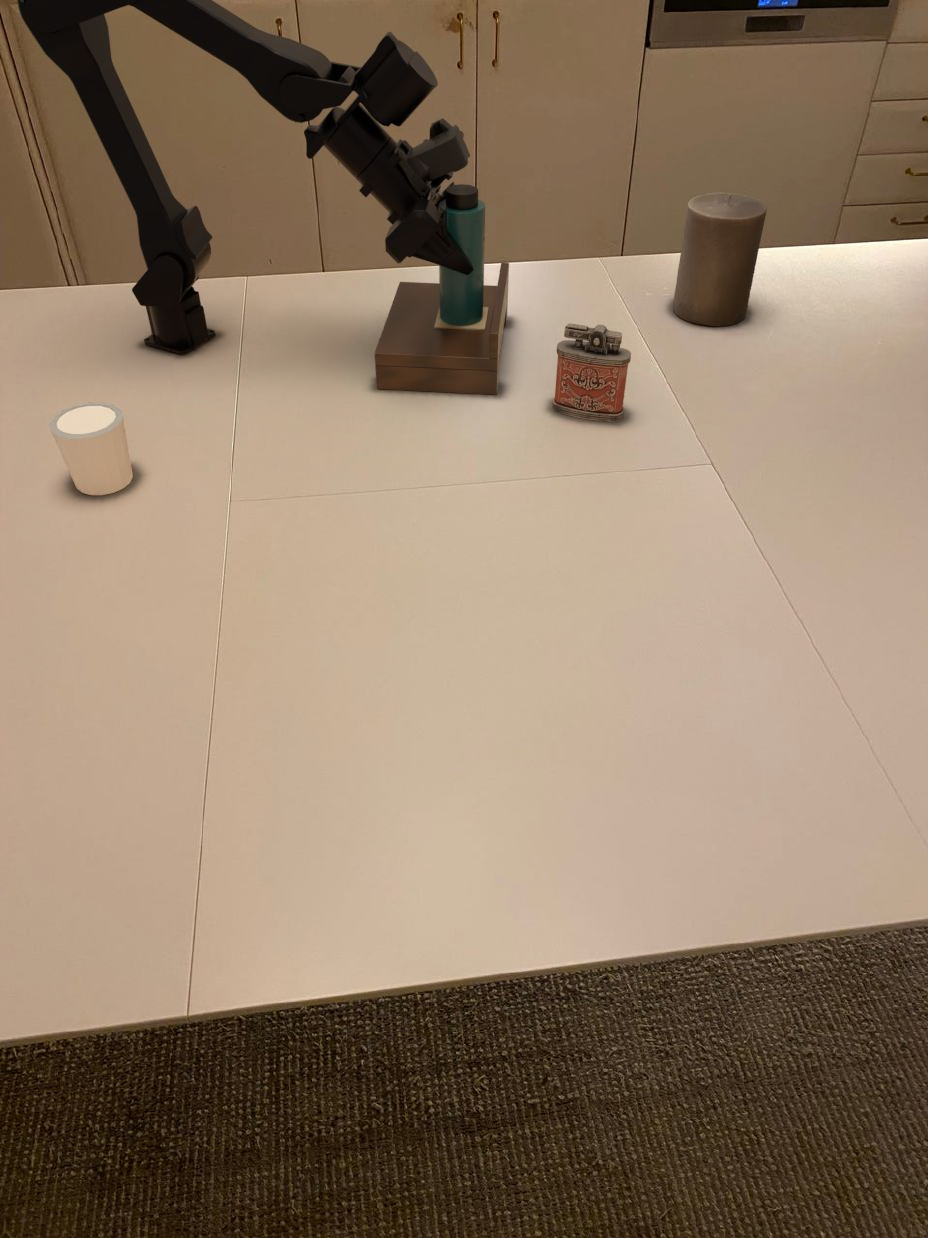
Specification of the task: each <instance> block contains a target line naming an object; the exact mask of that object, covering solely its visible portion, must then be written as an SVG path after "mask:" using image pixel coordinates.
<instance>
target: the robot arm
mask: <svg viewBox="0 0 928 1238" xmlns="http://www.w3.org/2000/svg"><path fill="white" fill-rule="evenodd" d="M128 6H130V7H133V8H134V9H136V10H138V11H139V12H141V13H143V14H144V15H146V16H148V17H149V18H151V19H152V20H154V21H156V22H157V23H159V24H160V25H163V26H164V27H165V28H167V29H168V30H170V31H172V32H174V33H175V34H177V35H179V36H180V37H182V38H183V39H185V40H186V41H188V42H190V43H191V44H193V45H195V46H196V47H198V48H199V49H201V50H203V51H204V52H206V53H207V54H209V55H211V56H213V57H214V58H215V59H217V60H219V61H221V62H222V63H224V64H225V65H227V66H228V67H231V68H232V69H234V70H235V71H236V72H238V73H239V74H240V75H241V76H242V77H243V78H244V79H246V80H247V82H248V83H249V84H250V85H251V87H252V88H253V89H254V91H255V92H256V93H257V94H258V95H259V96H260V97H261V98H262V99H263V100H264V101H265V102H267V103H268V104H269V105H270V106H271V107H272V108H274V109H275V110H276V111H277V112H278V113H279V114H280V115H282V116H283V117H285V119H287V120H289V121H291V122H294V123H299V124H304V123H307V122H310V121H313V120H315V119H316V118H317V117H319V116H320V115H321V113H322V112H323V110H327V109H330V111H329V112H328V113H327V114H326V115H325V117H323V119H322V120H321V121H320V122H319V124H316V125H315V124H314V125H313V124H308V125H307V126H306V127H305V129H304V130H303V134H304V137H305V147H306V149H305V150H306V152H305V155H306V158H307V159H309V160H312V159H313V158H314V157H315V156H316V155H317V153H319V152H320V150H321V149H322V148H323V147H324V148H325V149H326V150H327V151H328V152H329V153H330V154H331V155H332V156H333V157H334V158H335V159H336V160H337V161H338V162H339V163H340V165H342V166H343V167H344V168H345V170H347V171H348V173H350V174H351V176H353V178H355V179H356V180H357V181H358V183H360V185H361V186H360V188H359V190H358V192H359V193H361V194H362V196H364V197H365V198H368V197H369V195H371V196H372V197H373V198H374V199H375V200H376V202H378V203H379V204H380V205H381V206H382V208H384V210H386V211H387V212H388V215H387V217H386V220H387V221H388V222H389V223H390V224H391V226H389V229H388V231H387V233H386V235H385V239H384V244H385V252H386V253H387V254H388V255H389V256H390V257H391V258H392V259H393V261H395V263H397V264H398V265H400V264H402V263H403V261H404V260H406V258H409V259H410V258H412V257H413V258H416V259H419V260H423V261H425V262H428V263H432V264H435V265H437V266H439V265H441V266H443V267H446V268H449V269H451V270H454V271H457V272H459V273H462V274H465V275H469V274H470V273H471V272H472V271H473V270H474V267H473V265H472V264H471V262H470V261H469V259H468V258H467V256H466V255H465V253H464V252H463V251H462V249H461V248H460V246H459V245H458V244H457V242H456V241H455V240H454V238H453V237H452V235H451V234H450V233H449V231H448V229H447V211H446V209H445V210H444V211H443V212H442V213H441V214H440V213H439V203H440V202H441V201H443V200H445V199H446V188H445V189H444V188H443V186H442V183H443V182H444V181H445V180H447V181H449V180H451V179H452V178H453V176H454V173H457V172H459V171H461V170H463V169H464V168H465V167H467V166H468V164H469V158H470V157H471V154H470V152H469V149H468V146H467V144H466V141H465V139H464V137H465V133H464V132H463V131H462V130H460V128H459V126H458V125H457V124H454V125H451V123H449V122H448V121H447V120H446V119H445V118H444V117H443V118H439V119H438V120H436V121H434V122H432V123H431V124H430V126H429V138H428V139H427V138H426V139H423V141H422V143H419V144H417V145H416V146H414V147H413V146H412V145H411V144H409V142H408V141H407V140H405V139H403V140H402V139H401V138H399V140H398V141H395V139H394V138H393V136H391V135H390V134H389V133H388V132H387V131H386V130H385V128H383V127H388V128H389V127H390V126H391V125H394V126H395V127H401V126H403V124H405V122H406V121H407V120H408V119H409V118H410V117H411V116H412V115H413V114H414V113H415V111H416V110H417V109H418V108H420V107H419V106H421V104H422V103H423V102H424V101H425V100H426V99H427V98H428V97H429V95H430V94H431V93H432V92H433V91H434V90H435V89H436V88H437V87H438V85H439V83H438V78H437V77H436V75H435V73H434V71H433V70H432V67H430V65H429V63H427V61H426V60H425V59H424V58H423V56H422V55H421V54H420V53H419V52H418V51H416V50H415V51H414V50H413V49H412V48H411V47H410V46H409V45H408V44H407V43H405V42H403V41H402V40H400V39H398V38H397V37H396V36H395V35H394V33H393V32H392V31H387V32H386V34H384V36H383V37H382V38H381V40H380V41H379V43H378V44H377V46H376V48H375V50H374V51H373V53H372V54H371V55H370V56H369V57H368V59H367V60H366V61H365V62H364V63H363V65H362V66H357V65H352V64H347V63H341V62H336V61H331V60H330V59H329V58H328V57H327V56H326V55H325V54H324V53H323V52H321V51H319V50H318V49H315V48H314V47H311V46H308V45H306V44H304V43H301V42H298V41H297V40H294V39H291V38H288V37H285V36H281V35H277V34H272V33H269V32H267V31H266V32H265V31H264V30H262V29H259V28H257V27H256V26H254V25H252V24H250V23H249V22H248V21H246V20H244V19H242V18H241V17H239V16H238V15H236V14H235V13H233V12H232V11H230V10H228V9H227V8H225V7H223V6H222V5H220V4H219V3H218V2H216V1H214V0H17V8H18V11H19V14H20V17H21V19H22V21H23V23H24V25H25V26H26V28H27V29H28V31H29V32H30V33H31V35H32V37H33V38H34V39H35V41H36V43H37V44H38V46H39V47H40V49H41V50H42V52H43V53H44V55H45V56H46V57H47V58H48V59H50V60H51V62H53V64H55V66H56V67H58V69H60V70H61V71H62V73H64V74H65V75H66V76H67V77H68V78H69V80H70V82H71V84H72V85H73V87H74V90H75V91H76V94H77V95H78V97H79V100H80V102H81V104H82V106H83V108H84V110H85V112H86V114H87V116H88V118H89V120H90V122H91V125H92V126H93V129H94V130H95V133H96V134H97V137H98V138H99V141H100V143H101V145H102V147H103V149H104V151H105V153H106V155H107V157H108V160H109V161H110V163H111V165H112V167H113V170H114V172H115V173H116V175H117V178H118V180H119V182H120V184H121V187H122V188H123V190H124V192H125V194H126V196H127V198H128V200H129V203H130V205H131V207H132V209H133V211H134V214H135V216H136V217H135V218H136V224H137V234H138V235H137V236H138V242H139V243H138V245H139V248H140V251H141V253H142V257H143V260H144V264H145V266H146V269H147V270H146V271H145V272H144V273H143V275H142V276H141V277H140V278H139V279H138V281H137V282H136V283H135V284H134V285H133V287H132V288H131V292H132V294H133V295H134V297H135V299H136V300H137V302H138V304H139V305H140V306H142V307H145V311H146V314H147V318H148V322H149V327H150V331H151V334H150V335H148V336H146V337H145V338H144V339H143V343H144V345H147V346H151V347H155V348H158V349H162V350H165V351H169V352H172V353H175V354H178V355H185V354H187V353H189V352H190V351H193V350H194V349H195V348H197V347H199V346H200V345H202V344H203V343H205V342H206V341H209V340H210V339H212V338H213V337H214V336H216V330H214V329H211V328H208V324H207V319H206V314H205V309H204V306H203V305H202V303H201V302H202V301H201V297H200V292H199V291H197V290H195V288H194V287H193V286H194V284H195V283H196V282H197V281H199V279H200V276H201V274H202V272H203V270H204V269H205V268H206V267H207V265H208V264H209V261H210V258H211V256H212V246H211V243H210V242H211V240H212V239H213V235H212V234H211V233H210V232H209V230H208V229H207V228H206V225H205V224H204V221H203V218H202V215H201V214H202V213H201V211H200V209H199V207H198V205H192V207H190V208H186V207H185V206H184V205H183V204H182V203H181V202H179V200H178V199H177V198H176V197H175V196H174V194H173V192H172V190H171V187H170V186H169V184H168V181H167V179H166V177H165V174H164V173H163V170H162V168H161V166H160V164H159V162H158V160H157V157H156V155H155V153H154V151H153V149H152V146H151V145H150V142H149V140H148V137H147V136H146V133H145V131H144V129H143V127H142V125H141V122H140V121H139V118H138V115H137V114H136V111H135V110H134V107H133V105H132V103H131V100H130V99H129V96H128V94H127V92H126V90H125V87H124V86H123V82H121V78H120V76H119V74H118V72H117V70H116V68H115V66H114V63H113V58H112V49H111V41H110V33H109V32H110V31H109V26H108V21H107V19H106V15H105V14H107V13H111V12H113V11H116V10H118V9H120V8H125V7H128ZM353 92H355V93H356V94H357V96H356V97H355V98H354V99H353V100H352V101H351V102H350V104H349V105H348V106H347V107H346V108H345V109H344V108H342V107H341V106H342V105H343V104H344V103H345V102H346V100H347V99H348V98H349V96H350V95H351V94H352V93H353ZM452 185H456V184H455V181H452V182H451V183H449V185H448V186H447V187H449V186H452Z"/></svg>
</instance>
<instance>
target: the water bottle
mask: <svg viewBox="0 0 928 1238" xmlns="http://www.w3.org/2000/svg"><path fill="white" fill-rule="evenodd" d="M448 186H449V185H448ZM448 186H447V187H446V188H445V189H446V199H445V200H443V201H441V202H440V203H439V213H440V214H441V213H442V212H443V211H444V210H445V209H446V211H447V229H448V231H449V233H450V234H451V235H452V237H453V238H454V240H455V241H456V242H457V244H458V245H459V246H460V248H461V249H462V251H463V252H464V253H465V255H466V256H467V258H468V259H469V261H470V262H471V264H472V265H473V267H474V270H473V271H472V272H471V273H470V274H469V275H465V274H462V273H459V272H457V271H454V270H451V269H449V268H446V267H443V266H441V265H438V269H439V270H438V271H439V272H438V273H439V274H438V275H439V276H438V277H439V278H438V279H439V281H438V283H439V288H440V318H441V320H442V321H444V322H446V323H448V324H452V325H459V326H465V325H472V324H475V323H477V322H479V321H481V320H482V318H483V294H484V285H485V280H484V279H485V246H486V245H485V244H486V243H485V242H486V241H485V239H486V203H485V202H484V201H483V200H481V199H479V188H478V187H477V186H475V185H472V184H461V183H460V184H459V183H458V184H455V185H452V186H449V187H448Z"/></svg>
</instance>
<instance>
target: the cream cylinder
mask: <svg viewBox="0 0 928 1238" xmlns="http://www.w3.org/2000/svg"><path fill="white" fill-rule="evenodd" d="M49 429H50V432H51V434H52V437H53V439H54V442H55V444H56V445H57V448H58V450H59V452H60V455H61V457H62V459H63V461H64V464H65V466H66V468H67V470H68V473H69V474H70V477H71V479H72V481H73V483H74V487H75V489H76V490H78V491H79V492H80V493H81V494H85V495H89V496H105V495H110V494H114V493H117V492H119V491H121V490H123V489H125V488H126V487H127V486H129V484H131V482H132V480H133V477H134V474H133V469H132V462H131V457H130V451H129V445H128V437H127V432H126V426H125V420H124V415H123V411H122V409H120V408H119V407H118V406H116V405H115V404H110V403H107V402H86V403H80V404H75V405H73V406H70V407H66V408H65V409H63V410H61V411H60V412H58V413H57V414H55V415H54V416H53V417H52V419H50V422H49Z"/></svg>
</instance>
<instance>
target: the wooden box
mask: <svg viewBox="0 0 928 1238" xmlns="http://www.w3.org/2000/svg"><path fill="white" fill-rule="evenodd" d="M509 277H510V262H500V268H499V273H498V279H497V285H488V284H484V294H483V318H482V320H481V321H479V322H477V323H475V324H472V325H465V326H459V325H452V324H448V323H446V322H444V321H442V320H441V318H440V288H439V282H417V281H416V282H415V281H413V282H412V281H399V283H398V285H397V289H396V292H395V295H394V297H393V300H392V303H391V305H390V309H389V311H388V314H387V317H386V319H385V323H384V325H383V328H382V331H381V334H380V337H379V339H378V342H377V345H376V348H375V351H374V366H375V383H376V389H377V390H391V391H393V390H394V391H411V392H412V391H414V392H432V393H434V392H436V393H451V394H452V393H455V394H472V395H473V394H475V395H476V394H477V395H492V396H493V395H495V396H496V395H497V394H498V388H499V361H500V355H501V348H502V342H503V334H504V328H505V327H507V324H508V323H507V322H508V307H509V281H510V280H509Z"/></svg>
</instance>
